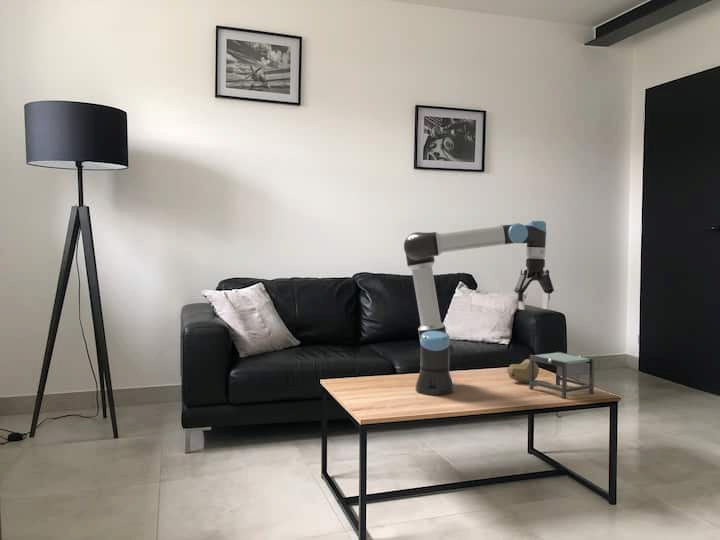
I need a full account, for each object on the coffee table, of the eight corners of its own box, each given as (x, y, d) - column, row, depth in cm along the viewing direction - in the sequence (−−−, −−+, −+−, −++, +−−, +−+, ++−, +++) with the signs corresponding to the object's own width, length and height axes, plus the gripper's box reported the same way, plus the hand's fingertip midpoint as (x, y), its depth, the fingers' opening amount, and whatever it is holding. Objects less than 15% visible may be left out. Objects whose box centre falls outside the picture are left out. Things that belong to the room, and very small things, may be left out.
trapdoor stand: (563, 399, 228) (563, 362, 227) (528, 389, 243) (528, 354, 243) (594, 393, 237) (595, 358, 236) (558, 384, 253) (559, 351, 252)
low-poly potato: (539, 380, 261) (518, 365, 267) (548, 362, 255) (525, 347, 261) (522, 395, 251) (499, 379, 257) (530, 376, 245) (507, 360, 251)
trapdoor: (565, 377, 229) (565, 362, 229) (534, 369, 243) (534, 355, 243) (589, 373, 236) (589, 358, 236) (557, 366, 250) (557, 352, 250)
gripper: (519, 257, 236) (517, 310, 237) (563, 258, 249) (561, 309, 250) (506, 257, 243) (504, 308, 244) (550, 258, 255) (548, 307, 256)
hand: (533, 309), depth 247 cm, fingers open, 13 cm apart
